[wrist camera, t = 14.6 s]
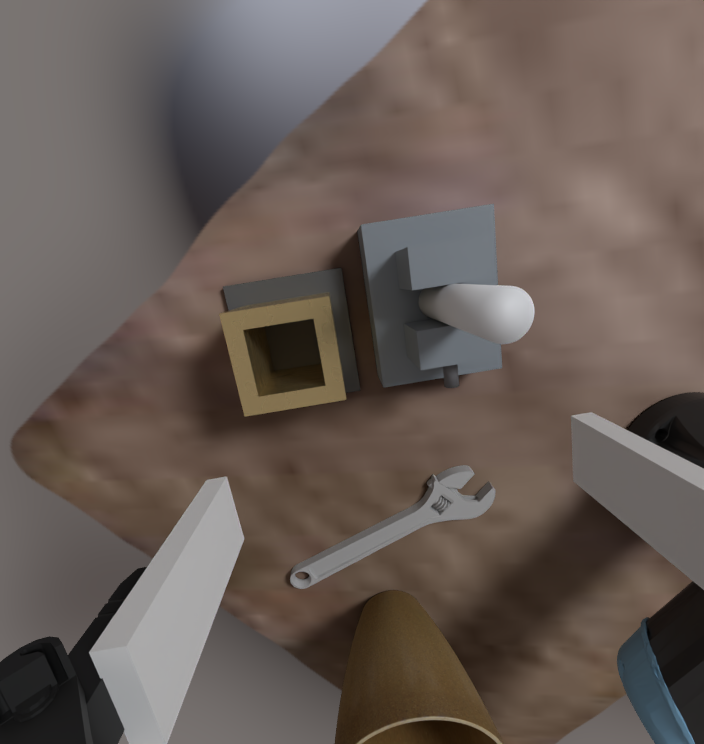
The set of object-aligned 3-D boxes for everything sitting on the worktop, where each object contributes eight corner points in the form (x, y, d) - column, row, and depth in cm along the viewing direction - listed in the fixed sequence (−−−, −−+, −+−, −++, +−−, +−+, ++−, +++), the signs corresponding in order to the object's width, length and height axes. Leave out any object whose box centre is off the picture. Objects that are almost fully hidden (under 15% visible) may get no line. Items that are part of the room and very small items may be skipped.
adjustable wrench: (298, 582, 43) (297, 594, 42) (273, 541, 42) (270, 552, 40) (493, 498, 42) (500, 508, 40) (474, 453, 40) (481, 460, 39)
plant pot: (474, 612, 45) (548, 784, 30) (383, 677, 47) (410, 872, 32) (398, 539, 42) (438, 690, 27) (304, 612, 44) (290, 794, 28)
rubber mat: (360, 388, 37) (360, 390, 37) (253, 406, 37) (252, 408, 36) (341, 268, 34) (341, 267, 34) (224, 286, 34) (222, 286, 33)
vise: (484, 358, 37) (606, 422, 21) (377, 376, 37) (416, 454, 21) (475, 212, 34) (613, 149, 17) (357, 230, 33) (383, 185, 17)
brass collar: (343, 373, 36) (346, 399, 28) (262, 386, 36) (244, 416, 28) (329, 292, 34) (329, 296, 26) (244, 305, 34) (219, 313, 26)
